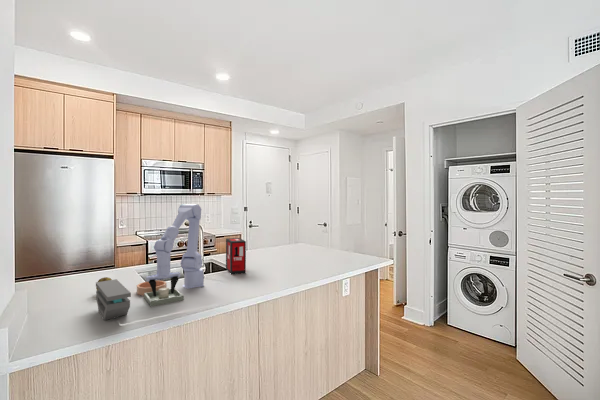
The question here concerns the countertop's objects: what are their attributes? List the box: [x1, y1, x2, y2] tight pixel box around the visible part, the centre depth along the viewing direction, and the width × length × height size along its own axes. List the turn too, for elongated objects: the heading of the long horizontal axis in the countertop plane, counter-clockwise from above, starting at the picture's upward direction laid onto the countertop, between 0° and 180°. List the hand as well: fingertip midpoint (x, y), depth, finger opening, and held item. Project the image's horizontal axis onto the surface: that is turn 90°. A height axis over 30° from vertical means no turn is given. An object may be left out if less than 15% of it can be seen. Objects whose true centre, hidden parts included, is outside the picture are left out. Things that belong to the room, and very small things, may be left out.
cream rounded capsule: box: [158, 287, 170, 299], centre depth 143 cm, size 4×4×4 cm
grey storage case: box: [95, 279, 132, 321], centre depth 126 cm, size 25×8×11 cm, turn 42°
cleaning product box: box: [225, 237, 247, 275], centre depth 198 cm, size 16×9×20 cm, turn 25°
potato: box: [95, 276, 113, 291], centre depth 149 cm, size 8×13×8 cm, turn 26°
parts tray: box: [143, 287, 185, 307], centre depth 143 cm, size 14×14×3 cm
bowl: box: [136, 279, 168, 297], centre depth 154 cm, size 13×13×4 cm
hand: (163, 294), depth 143 cm, fingers open, 7 cm apart
